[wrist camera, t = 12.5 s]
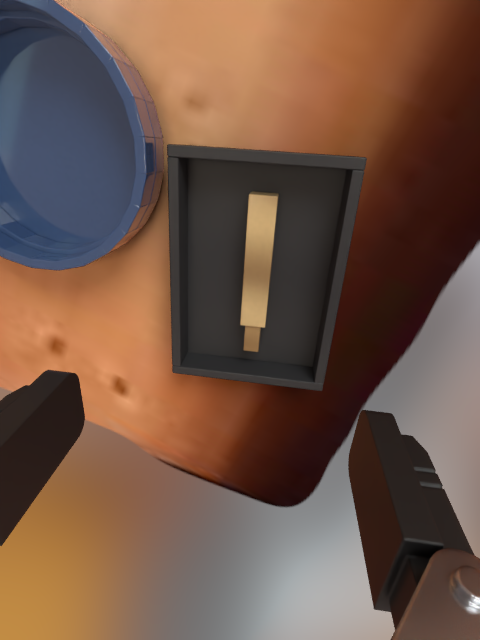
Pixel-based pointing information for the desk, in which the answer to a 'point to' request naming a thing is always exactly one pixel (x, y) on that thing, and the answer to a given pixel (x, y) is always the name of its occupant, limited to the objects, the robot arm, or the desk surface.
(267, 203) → the wooden stick
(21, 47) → the bowl
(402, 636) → the robot arm
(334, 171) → the pen tray
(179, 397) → the desk surface
